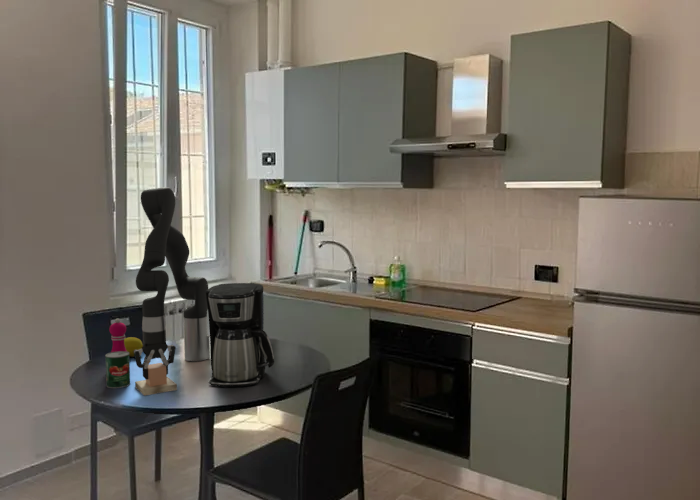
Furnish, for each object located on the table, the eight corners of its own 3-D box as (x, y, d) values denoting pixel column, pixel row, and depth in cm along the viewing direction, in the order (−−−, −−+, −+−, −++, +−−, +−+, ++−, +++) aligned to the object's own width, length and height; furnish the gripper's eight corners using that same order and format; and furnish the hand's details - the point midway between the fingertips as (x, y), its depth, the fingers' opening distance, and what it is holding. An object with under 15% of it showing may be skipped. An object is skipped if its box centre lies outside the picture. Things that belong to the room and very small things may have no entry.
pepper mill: (122, 373, 233) (120, 320, 231) (105, 372, 234) (103, 320, 232) (133, 368, 240) (131, 316, 238) (116, 367, 241) (114, 316, 240)
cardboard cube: (166, 383, 214) (166, 366, 213) (150, 386, 211) (149, 369, 210) (162, 379, 218) (161, 362, 218) (145, 382, 215) (145, 365, 215)
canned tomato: (116, 389, 214) (115, 358, 213) (101, 386, 218) (100, 355, 217) (135, 383, 221) (134, 353, 220) (120, 380, 225) (119, 350, 224)
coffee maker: (212, 392, 211) (210, 292, 208) (196, 367, 240) (193, 280, 237) (277, 383, 220) (276, 288, 217) (254, 361, 249) (252, 277, 246)
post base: (167, 381, 222) (166, 362, 222) (177, 389, 213) (176, 369, 213) (135, 387, 216) (134, 367, 216) (144, 395, 207) (143, 375, 207)
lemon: (147, 354, 261) (147, 335, 260) (139, 359, 253) (138, 339, 253) (123, 353, 262) (122, 334, 262) (113, 358, 255) (113, 339, 254)
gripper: (135, 333, 206) (137, 383, 207) (178, 328, 214) (180, 376, 215) (129, 329, 212) (131, 378, 214) (171, 324, 220) (173, 371, 222)
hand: (155, 377), depth 214 cm, fingers closed on cardboard cube, 5 cm apart
